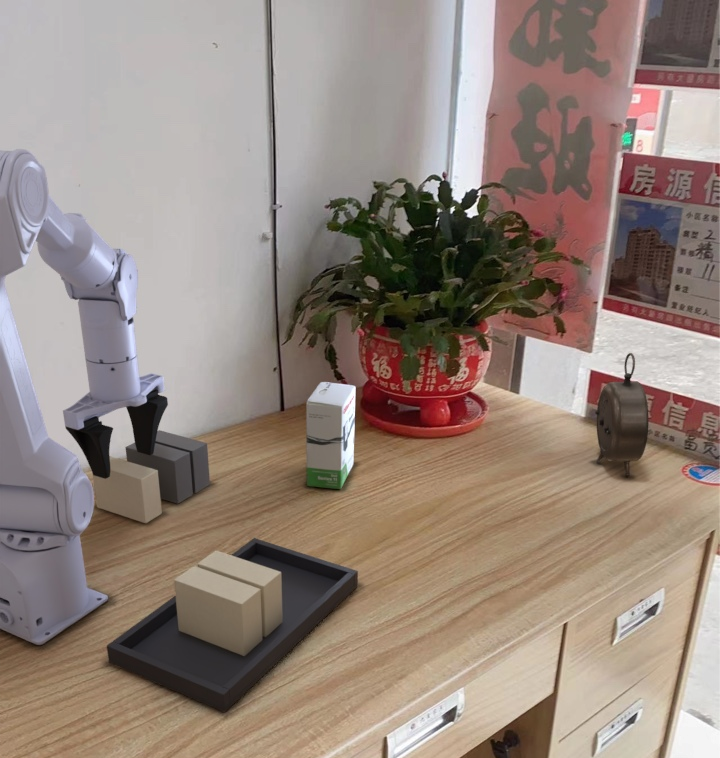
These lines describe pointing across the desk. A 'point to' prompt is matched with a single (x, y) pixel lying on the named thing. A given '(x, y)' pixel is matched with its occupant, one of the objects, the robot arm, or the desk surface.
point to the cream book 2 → (251, 584)
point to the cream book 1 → (219, 610)
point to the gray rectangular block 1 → (167, 470)
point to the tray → (221, 666)
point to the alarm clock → (622, 420)
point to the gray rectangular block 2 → (196, 456)
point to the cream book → (129, 491)
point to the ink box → (330, 434)
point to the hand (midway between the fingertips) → (124, 464)
